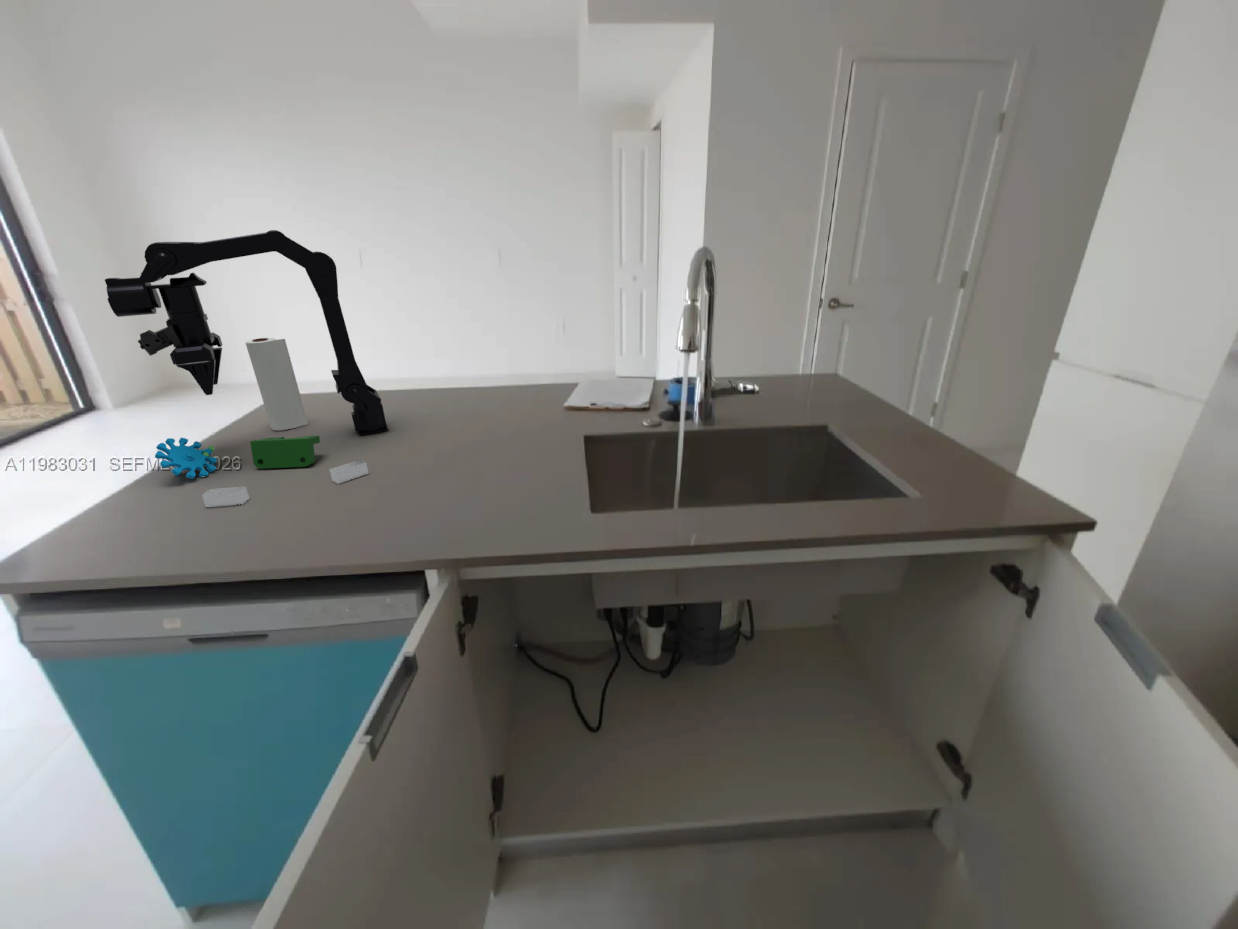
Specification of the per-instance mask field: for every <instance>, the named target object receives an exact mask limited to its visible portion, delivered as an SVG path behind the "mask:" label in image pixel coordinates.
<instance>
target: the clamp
mask: <svg viewBox="0 0 1238 929" xmlns="http://www.w3.org/2000/svg"><path fill="white" fill-rule="evenodd" d="M249 443H250V448H251V454H252V461H253V465H254V466H255V467H256V468H257V469H261V470H262V469H280V468H281V469H282V468H283V469H284V468H303V467H304V468H305V467H308V466H311V465H313V464H315V461H316V456H315V455H316V454H315V448H314V447H315V446H314V445H316V444H321V438H320V435H305V436H301V437H288V438H287V437H286V438H285V437H284V436H281V437H279V436H277V437H267V438H261V439H256V440H255V439H254V440H251V441H249Z"/></svg>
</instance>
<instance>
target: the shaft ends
mask: <svg viewBox="0 0 1238 929" xmlns="http://www.w3.org/2000/svg"><path fill="white" fill-rule="evenodd" d="M368 468H369V467H368V464H367V462H366V461H365V460H362V459H357V460H354V461H351V462H348V463H345V464H341V465H338V466H335V467H332V468H329V469H328V470H329V473H330V476H331V480H332V482H333V483H335V484H336V485H339V484H342V483H345V482H348V481H350V480H351V479H352V480H354V479H356V478H360V477H364V476H366V475H368V474H369V469H368ZM201 497H202V500H203V502H204V505H205V508H206V507H208V508H218V507H228V506H229V507H230V506H239V505H240V504H241V505H245V504H246V502H247V501H248V500H250V495H249V492H248V490H247V486H245V485H244V486H235V487H234V486H232V487H222V488H219V487H218V488H210V489H208V490H207V491H205V492H204V493H203V494H201ZM237 504H238V505H237Z"/></svg>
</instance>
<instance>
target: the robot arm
mask: <svg viewBox="0 0 1238 929" xmlns="http://www.w3.org/2000/svg"><path fill="white" fill-rule="evenodd" d="M273 252H276V253H278V254H279V255H282V256H283V257H285V258H286V259H288V260H290V261H292V262H294V263H295V264H297V265H298V266H300V267H302V268H304V270H305V271H306V274H307V276H308V278H309V280H310V282H311V284H312V286H313V288H314V291H315V293H316V295H317V297H318V299H319V302H320V305H321V308H322V312H323V316H324V319H325V322H326V327H327V329H328V333H329V337H330V341H331V345H332V347H333V351H334V354H335V357H336V365H337V369H331V370H330V371H331V375H332V377H333V379H334V381H335V388H336V393H337V394H341V397H342V398H343V400H345V401H346V402H348V403H349V404H352V405H351V407H352V411H351V413H350V414H351V415H350V416H351V420H352V423H353V428H354V431H355V432H357V433H358V436H366V435H373V434H377V433H378V434H379V433H382V432H388V431H389V430H390V429H389V427H388V424H387V421H386V416H385V411H384V408H383V403H382V398H381V397H380V394H379V393H378V391H377V390H376V389H374V388H373V387H372V386H370V385H368V384H367V382H366V380H365V378H364V376H363V374H362V372H361V370H360V367H359V365H358V362H356V358H355V355H354V352H353V347H352V343H351V340H350V337H349V332H348V329H347V325H346V321H345V318H344V314H343V312H342V307H341V304H340V299H339V289H338V288H339V287H338V286H339V284H338V273H337V265H336V263H335V261H334V259H333V258H332V257H331V256H329V255H328V254H327V253H324V252H321V251H312V250H310V249H308V248H306V247H305V246H303V245H301V244H299V243H298V242H297V241H295V240H293V239H292V238H289V237H288V236H286V235H285V233H283V232H281V231H279V230H278V229H277V230H275V229H270V230H268V231H266V232H261V233H260V232H259V233H255V234H254V233H253V234H247V235H240V236H234V237H229V238H221V239H215V240H208V241H203V242H202V241H157V242H153V243H150V244H149V245H147V247H146V249H145V251H144V260H145V262H146V264H145V266H144V268H143V270H142V271H141V272H140V275H139V277H124V278H123V277H121V278H120V277H108V278H105V279H104V283H105V285H106V293H107V297H108V298H107V301H108V304H109V307H110V308H111V310H112V312H113V314H114V315H115V316H116V317H117V318H121V317H133V316H134V317H135V316H143V315H144V316H145V315H155V314H157V309H161V308H162V303H163V305H164V309H165V312H166V314H167V316H168V318H167V319H166V321H165V323H166V327H164V328H162V329H159V330H157V331H152V330H150V329H148V330H146V331H145V332H144V331H143V332H141V333H140V334H139V337H140V339H138V340H137V342H138V344H139V345H140V346H139V347H140V348H141V350H144V351H145V352H146V353H147V354H148V356H153V355H156V354H157V353H158V352H159V351H162V350H164V349H166V348H168V347H170V346H173V350H172V351H171V353H170V354H169V355H170V356H169V357H170V360H171V361H172V364H173V365H176V367H177V368H179V369H180V368H181V369H182V370H185V371H188V372H189V373H190V374H191V376H192V377H193V379H194V380H195V381H196V383H197V384H198V386H199V387H200V389H201V390H202V391H203V393H204V394H205V395H206V396H211V395H213V393H214V385H218V382H219V376H220V375H219V374H220V366H221V360H222V352H223V347H222V346H223V342H222V339H221V338H222V337H221V336H220V335H219V334H217V333H216V332H211V330H210V326H209V323H208V320H209V319H208V315H207V313H205V312H204V308H203V306H202V303H201V299H200V296H199V293H198V290H197V287H201V286H206V285H207V281H206V280H205V279H203V278H201V277H199V275H197V274H196V273H195V272H190V273H189V274H188V275H189V276H183V277H170V278H169V283H161V284H152V283H155V282H157V281H161V280H163V279H165V278H166V277H167V276H174V275H178V274H180V273H183V272H186V271H188V270H191V269H194V268H197V267H200V266H203V265H206V264H209V263H211V262H217V261H218V262H219V261H225V260H231V259H236V258H243V257H248V256H254V255H260V254H266V253H267V254H268V253H273ZM157 289H158V291H159V293H158V291H157ZM159 294H160V296H159ZM161 300H162V302H161ZM215 346H217V347H215Z"/></svg>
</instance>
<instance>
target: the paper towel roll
mask: <svg viewBox="0 0 1238 929" xmlns="http://www.w3.org/2000/svg"><path fill="white" fill-rule="evenodd" d="M244 343H245V346H246V350H247V352H248V355H249V359H250V360H249V361H250V363H251V365H252V368H253V372H254V373H253V374H254V376H255V379H256V382H257V385H258V389H259V393H260V396H261V399H262V403H263V405H264V408H265V413H266V415H267V418H268V422H269V425H270V428H271V430H272V431H287V430H292V429H296V428H299V427H302V426H306V425H308V424H309V423H308V419H307V415H306V411H305V406H304V404H303V400H302V396H301V393H300V390H299V385H298V382H297V378H296V374H295V370H294V367H293V363H292V361H291V356H290V353H289V350H288V346H287V341H286V338H281V339H276V338H274V337H261V338H260V337H259V338H254V339H250V340H246V341H245V342H244Z"/></svg>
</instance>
